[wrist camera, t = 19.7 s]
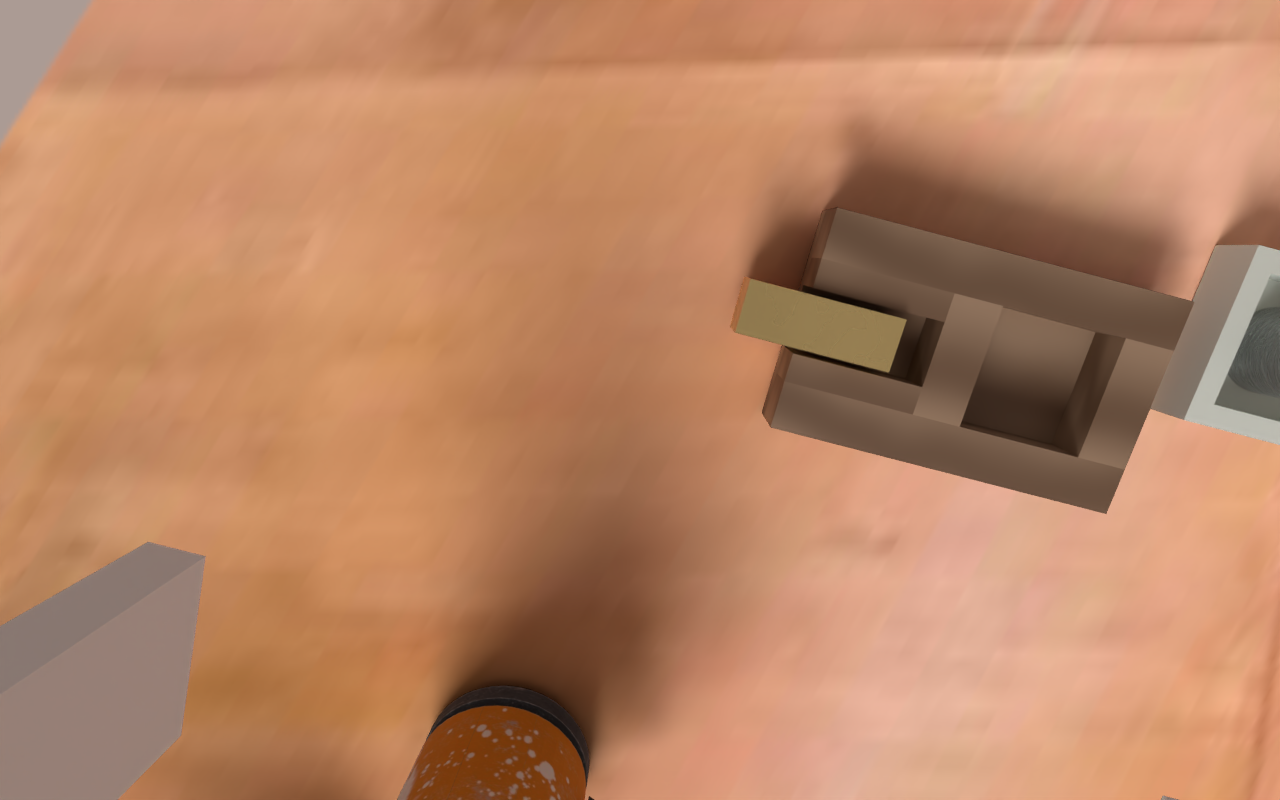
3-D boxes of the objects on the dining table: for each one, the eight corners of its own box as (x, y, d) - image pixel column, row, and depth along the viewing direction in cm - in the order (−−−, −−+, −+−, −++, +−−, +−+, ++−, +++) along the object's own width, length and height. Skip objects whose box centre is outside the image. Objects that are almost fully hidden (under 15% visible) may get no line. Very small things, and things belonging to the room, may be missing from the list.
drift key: (744, 276, 34) (750, 278, 31) (889, 314, 34) (906, 319, 31) (730, 326, 34) (735, 332, 32) (873, 363, 34) (888, 372, 32)
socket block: (822, 211, 34) (837, 207, 31) (1149, 297, 34) (1194, 302, 31) (761, 412, 36) (770, 427, 33) (1070, 492, 36) (1105, 513, 33)
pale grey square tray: (1215, 245, 34) (1258, 244, 31) (1358, 283, 34) (1413, 286, 31) (1147, 408, 35) (1183, 419, 33) (1284, 443, 35) (1330, 458, 33)
